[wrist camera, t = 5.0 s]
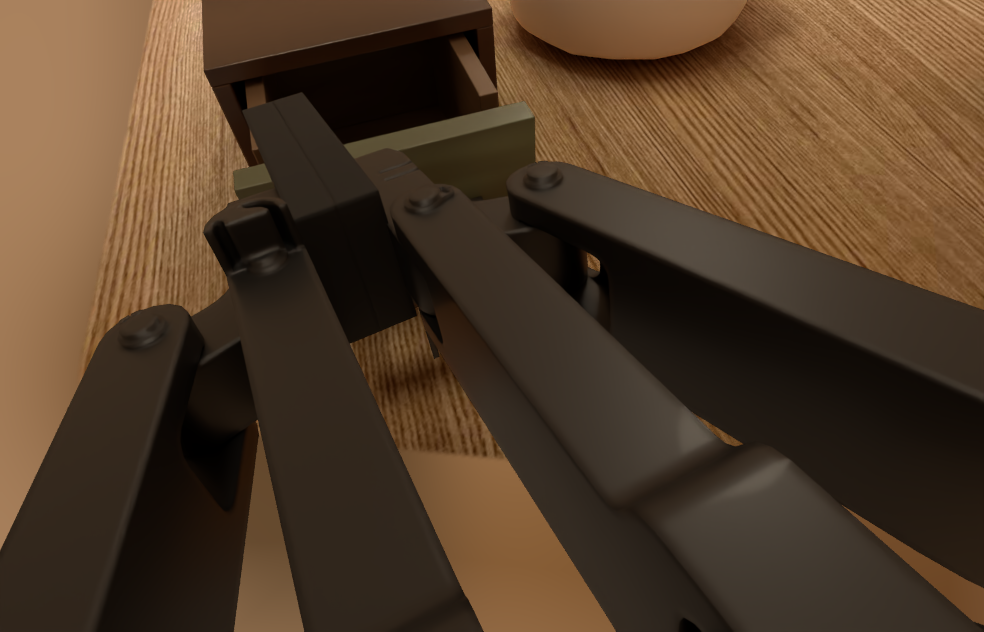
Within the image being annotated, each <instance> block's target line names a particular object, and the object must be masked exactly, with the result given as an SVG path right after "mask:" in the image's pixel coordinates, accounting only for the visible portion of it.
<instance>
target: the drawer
mask: <svg viewBox="0 0 984 632" xmlns="http://www.w3.org/2000/svg"><path fill="white" fill-rule="evenodd" d="M245 89H246V99H247V108H252V107H255V106H258V105H262V104H265V103H268V102H271V101H275V100H278V99H281V98H285V97H288V96H291V95H294V94H298V93H301V92H302V93H303V94H304V95H305V96H306V98H307V99H308V100H309V102H310V103H311V104H312V105H313V107H314V108H315V109H316V111H317V112H318V113H319V114H320V116H321V117H322V118H323V120H324V121H325V122H326V123H327V125H328V126H329V127H330V129H331V130H332V131H333V132H334V134H335V135H336V136H337V138H338V139H339V140H340V141H341V143H342V144H343V145H344V146H345V148H346V149H347V150H348V152H349V153H350V154H351V155H352V157H353V158H354V159H355V158H358V157H361V156H364V155H366V154H369V153H372V152H375V151H378V150H381V149H384V148H390V149H393V150H397V151H400V152H403V153H404V154H405V155H406V156H407V157H408V158H409V159H410V160H411V161H412V162H413V163H414V164H415V165H416V166H417V167H418V169H420V170H421V171H422V172H423V173H424V174H425V175H426V176H427V177H428V178H429V179H430V180H431V181H432V182H433V183H434V184H446V185H452V186H454V187H456V188H458V189H460V190H461V191H462V192H463V193H464V194H465V195H466V196H467V197H468V198H469V199H470V200H471V201H482V200H489V199H494V198H499V197H505V196H508V193H507V187H506V181H507V179H508V178H509V176H510V175H511V174H512V173H514V172H515V171H517V170H518V169H520V168H523V167H525V166H528V164H531V163H535V117H534V115H533V113H532V112H531V110H530V109H529V107H528V105H527V104H526V102H525V101H522V102H518V103H514V104H510V105H505V106H501V107H499V102H498V92H497V90H496V88H495V86H494V85H493V83H492V81H491V80H490V78H489V76H488V75H487V73H486V71H485V69H484V68H483V66H482V64H481V63H480V61H479V59H478V58H477V56H476V54H475V52H474V51H473V49H472V47H471V46H470V44H469V42H468V41H467V39H466V37H465V35H464V34H463V32H459V33H455V34H450V35H446V36H441V37H436V38H432V39H427V40H423V41H418V42H414V43H409V44H405V45H400V46H396V47H391V48H387V49H382V50H378V51H373V52H369V53H364V54H360V55H355V56H351V57H346V58H342V59H337V60H333V61H328V62H324V63H319V64H315V65H310V66H306V67H301V68H296V69H292V70H287V71H283V72H278V73H274V74H269V75H265V76H260V77H256V78H251V79H247V80H245ZM250 136H251V146H252V152H253V154H254V156H255V158H256V160H257V163H258V165H256V166H252V167H248V168H244V169H240V170H236V171H233V176H234V190H235V193H236V195H237V197H238V199H239V200H240V199H243V198H246V197H248V196H251V195H254V194H257V193H260V192H263V191H266V190H269V189H272V188H275V187H274V185H273V182H272V180H271V178H270V175H269V173H268V171H267V168H266V166H265V164H264V161H263V159H262V157H261V154H260V152H259V150H258V147H257V145H256V143H255V140H254V138H253V136H252V133H251V131H250ZM412 301H413V304H414V307H418V306H417V304H416V303H415V301H414V300H413V298H412Z"/></svg>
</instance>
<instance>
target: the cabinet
mask: <svg viewBox="0 0 984 632" xmlns="http://www.w3.org/2000/svg"><path fill="white" fill-rule="evenodd" d="M202 24H203V61H204V73H205V75H206V77H207V79H208V81H209V83H210V85H211V87H212V89H213V91H214V93H215V96H216V98H217V100H218V102H219V104H220V106H221V108H222V110H223V112H224V115H225V117H226V119H227V121H228V123H229V125H230V127H231V129H232V132H233V134H234V136H235V138H236V140H237V142H238V144H239V146H240V149H241V151H242V153H243V155H244V157H245V159H246V161H247V163H248V165H249V167H252V166H256V165H258V163H257V160H256V158H255V156H254V154H253V152H252V146H251V136H250V128H249V126H248V124H247V121H246V119H245V117H244V114H243V112H242V110H245V109H248V108H247V99H246V89H245V80H247V79H251V78H256V77H260V76H265V75H269V74H274V73H278V72H283V71H287V70H292V69H296V68H301V67H306V66H310V65H315V64H319V63H324V62H328V61H333V60H337V59H342V58H346V57H351V56H355V55H360V54H364V53H369V52H373V51H378V50H382V49H387V48H391V47H396V46H400V45H405V44H409V43H414V42H418V41H423V40H427V39H432V38H436V37H441V36H446V35H450V34H455V33H459V32H463V34H464V35H465V37H466V39H467V41H468V42H469V44H470V46H471V47H472V49H473V51H474V52H475V54H476V56H477V58H478V59H479V61H480V63H481V64H482V66H483V68H484V69H485V71H486V73H487V75H488V76H489V78H490V80H491V81H492V83H493V85H494V86H495V88H496V90H497V78H496V63H495V47H494V32H493V17H492V7H491V6H490V5H489V3H488V2H487V0H202Z"/></svg>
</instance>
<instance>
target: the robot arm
mask: <svg viewBox="0 0 984 632" xmlns="http://www.w3.org/2000/svg"><path fill="white" fill-rule="evenodd" d="M242 112H243V114H244V117H245V119H246V121H247V124H248V126H249V128H250V131H251V133H252V136H253V138H254V140H255V143H256V145H257V147H258V150H259V152H260V154H261V157H262V159H263V161H264V164H265V166H266V168H267V171H268V173H269V175H270V178H271V180H272V182H273V185H274V187H275V188H272V189H269V190H266V191H263V192H260V193H257V194H254V195H251V196H248V197H246V198H243V199H240V200H237V201H234V202H231V203H228V205H227V207H226V208H225V209H224V210H222V211H221V212H219V213H218V214H216V215H214V216H213V217H212V218H211V219H210V220H209V221H208V222H207V224H206V225H205V228H204V232H203V233H204V235H205V237H206V239H207V241H208V243H209V245H210V246H211V248H212V250H213V252H214V254H215V256H216V258H217V259H218V261H219V263H220V265H221V267H222V269H223V271H224V272H225V274H226V276H227V281H228V286H229V289H228V290H227V292H226V293H225V294H224V295H223V296H222V297H221V298H219V299H218V300H217V301H216V302H214V303H213V304H211V305H210V306H208V307H207V308H205V309H204V310H202V311H200V312H198V313H197V314H195V315H193V316H192V317H191V316H190V315H189V313H188V312H187V311H186V310H185V309H184V308H183V307H182V306H178V305H172V304H166V305H159V306H153V307H150V308H147V309H144V310H139V311H136V312H134V313H132V314H131V316H129V315H128V316H126V317H125V318H123V319H122V320H120V321H119V323H118V324H116V325H115V326H114V327H113V328H111V329H110V330H109V331H108V332H107V333H106V334H105V336H104V337H103V338H102V340H101V341H100V342H99V344H98V346H97V348H96V350H95V352H94V354H93V357H92V359H91V361H90V363H89V365H88V367H87V369H86V371H85V373H84V376H83V378H82V380H81V382H80V384H79V386H78V388H77V390H76V392H75V394H74V397H73V399H72V401H71V403H70V405H69V407H68V409H67V412H66V414H65V416H64V418H63V420H62V422H61V424H60V426H59V428H58V430H57V432H56V435H55V437H54V439H53V441H52V443H51V445H50V447H49V449H48V451H47V454H46V455H45V458H44V460H43V462H42V464H41V466H40V468H39V470H38V472H37V474H36V477H35V479H34V481H33V483H32V485H31V487H30V489H29V491H28V493H27V495H26V498H25V500H24V502H23V504H22V506H21V508H20V510H19V513H18V514H17V517H16V519H15V521H14V523H13V525H12V527H11V529H10V532H9V533H8V535H7V538H6V540H5V542H4V544H3V546H2V548H1V550H0V632H234V625H235V617H236V609H237V601H238V594H239V586H240V578H241V570H242V562H243V554H244V546H245V538H246V531H247V523H248V515H249V507H250V499H251V492H252V484H253V476H254V468H255V459H256V452H257V444H258V437H259V433H258V426H257V424H256V422H255V421H256V420H258V422H259V427H260V431H261V436H262V441H263V445H264V450H265V454H266V459H267V463H268V467H269V472H270V477H271V481H272V485H273V490H274V495H275V500H276V504H277V508H278V513H279V517H280V523H281V527H282V532H283V536H284V541H285V545H286V550H287V554H288V559H289V563H290V568H291V572H292V577H293V582H294V586H295V591H296V595H297V600H298V604H299V609H300V614H301V618H302V623H303V627H304V632H484V631H483V630H482V627H481V625H480V623H479V621H478V619H477V617H476V614H475V612H474V610H473V608H472V606H471V604H470V602H469V600H468V599H467V597H466V596H465V594H464V592H463V590H462V588H461V586H460V584H459V582H458V580H457V578H456V575H455V573H454V571H453V569H452V567H451V565H450V562H449V560H448V558H447V556H446V554H445V551H444V549H443V547H442V545H441V543H440V540H439V538H438V536H437V534H436V532H435V530H434V527H433V525H432V523H431V521H430V519H429V517H428V514H427V512H426V510H425V508H424V505H423V503H422V501H421V499H420V497H419V495H418V493H417V490H416V488H415V486H414V484H413V482H412V479H411V477H410V475H409V473H408V471H407V468H406V466H405V464H404V462H403V460H402V457H401V455H400V453H399V451H398V449H397V446H396V444H395V442H394V440H393V438H392V436H391V433H390V431H389V429H388V427H387V425H386V422H385V420H384V418H383V416H382V414H381V412H380V409H379V407H378V405H377V403H376V401H375V398H374V396H373V394H372V392H371V390H370V388H369V385H368V383H367V381H366V379H365V377H364V374H363V372H362V370H361V368H360V366H359V363H358V361H357V359H356V357H355V355H354V353H353V350H352V348H351V346H350V343H352V342H355V341H357V340H360V339H362V338H365V337H367V336H369V335H372V334H374V333H377V332H379V331H381V330H384V329H386V328H389V327H391V326H393V325H396V324H398V323H401V322H403V321H405V320H408V319H410V318H413V317H415V316H417V314H416V310H415V307H414V304H413V301H412V298H413V300H414V301H415V303H416V304H417V306H418V307H419V310H420V314H421V317H422V320H423V323H424V327H425V330H426V333H427V337H428V340H429V343H430V347H431V350H432V353H433V356H434V359H435V358H437V357H440V356H439V352H440V353H441V355H442V356H443V358H444V360H445V361H446V363H447V364H448V366H449V368H450V369H451V371H452V372H453V374H454V375H455V377H456V379H457V380H458V382H459V383H460V385H461V386H462V388H463V390H464V391H465V393H466V394H467V396H468V398H469V399H470V401H471V402H472V404H473V405H474V407H475V409H476V410H477V412H478V413H479V415H480V417H481V418H482V420H483V421H484V423H485V424H486V426H487V428H488V429H489V431H490V432H491V434H492V435H493V437H494V439H495V440H496V442H497V443H498V445H499V447H500V448H501V450H502V451H503V453H504V454H505V456H506V458H507V459H508V461H509V462H510V464H511V465H512V467H513V469H514V470H515V471H516V473H517V475H518V477H519V478H520V480H521V481H522V483H523V484H524V486H525V488H526V489H527V491H528V492H529V494H530V495H531V497H532V499H533V500H534V502H535V503H536V505H537V506H538V508H539V510H540V511H541V513H542V514H543V516H544V518H545V519H546V521H547V522H548V524H549V525H550V527H551V529H552V530H553V532H554V533H555V535H556V536H557V538H558V540H559V541H560V543H561V544H562V546H563V548H564V549H565V551H566V552H567V554H568V556H569V557H570V559H571V560H572V562H573V563H574V565H575V566H576V568H577V570H578V571H579V573H580V574H581V576H582V577H583V579H584V581H585V582H586V584H587V586H588V587H589V589H590V590H591V592H592V593H593V595H594V596H595V598H596V600H597V601H598V603H599V604H600V606H601V608H602V609H603V611H604V612H605V614H606V616H607V617H608V619H609V620H610V622H611V623H612V625H613V627H614V629H615V630H616V632H984V625H981V624H979V623H976V622H973V621H972V620H971V619H969V618H968V617H967V616H966V615H965V614H964V613H962V612H961V611H960V610H959V609H958V608H957V607H956V606H955V605H954V604H952V603H951V602H950V601H949V600H948V599H947V598H946V597H945V596H944V595H942V594H941V593H940V592H939V591H938V590H937V589H936V588H934V587H933V586H932V585H931V584H930V583H929V582H928V581H927V580H925V579H924V578H923V577H922V576H921V575H920V574H919V573H918V572H916V571H915V570H914V569H913V568H912V567H911V566H910V565H909V564H907V563H906V562H905V561H904V560H903V559H902V558H900V557H899V556H898V555H897V554H896V553H895V552H894V551H893V550H892V549H890V548H889V547H888V546H887V545H886V544H885V543H884V542H883V541H881V540H880V539H879V538H878V537H877V536H876V535H875V534H874V533H872V532H871V531H870V530H869V529H868V528H867V527H866V526H865V525H863V524H862V523H861V522H860V521H859V520H858V519H857V518H856V517H854V516H853V515H852V514H851V513H850V512H849V511H848V510H847V509H845V508H844V507H843V506H845V507H846V508H848V509H850V510H851V511H853V512H854V513H856V514H858V515H859V516H861V517H862V518H864V519H866V520H867V521H869V522H870V523H872V524H874V525H875V526H877V527H878V528H880V529H882V530H883V531H885V532H887V533H888V534H890V535H892V536H893V537H895V538H896V539H898V540H899V541H901V542H903V543H904V544H906V545H908V546H909V547H911V548H913V549H914V550H916V551H917V552H919V553H921V554H923V555H924V556H926V557H928V558H930V559H931V560H933V561H935V562H937V563H938V564H940V565H942V566H943V567H945V568H947V569H949V570H950V571H952V572H954V573H956V574H958V575H959V576H961V577H963V578H965V579H966V580H968V581H971V582H973V583H974V584H977V585H979V586H981V587H983V588H984V310H982V309H979V308H976V307H973V306H971V305H968V304H965V303H962V302H959V301H956V300H954V299H951V298H948V297H945V296H942V295H939V294H937V293H934V292H931V291H928V290H925V289H923V288H920V287H917V286H914V285H911V284H908V283H906V282H903V281H900V280H897V279H894V278H891V277H889V276H886V275H883V274H880V273H877V272H874V271H872V270H869V269H866V268H863V267H860V266H857V265H855V264H852V263H849V262H846V261H843V260H840V259H838V258H835V257H832V256H829V255H826V254H823V253H821V252H818V251H815V250H812V249H809V248H806V247H804V246H801V245H798V244H795V243H792V242H789V241H787V240H784V239H781V238H778V237H775V236H773V235H770V234H767V233H764V232H761V231H758V230H756V229H753V228H750V227H747V226H744V225H741V224H739V223H736V222H733V221H730V220H727V219H724V218H722V217H719V216H716V215H713V214H710V213H707V212H705V211H702V210H699V209H696V208H693V207H690V206H688V205H685V204H682V203H679V202H676V201H673V200H671V199H668V198H665V197H662V196H659V195H656V194H654V193H651V192H648V191H645V190H642V189H639V188H637V187H634V186H631V185H628V184H625V183H623V182H620V181H617V180H614V179H611V178H608V177H606V176H603V175H600V174H597V173H594V172H591V171H589V170H586V169H583V168H580V167H577V166H574V165H572V164H568V163H563V162H548V161H539V162H538V163H536V162H535V163H531V164H528V166H525V167H523V168H520V169H518V170H517V171H515V172H514V173H512V174H511V175H510V176H509V178H508V179H507V181H506V187H507V193H508V196H505V197H499V198H494V199H489V200H482V201H471V200H470V199H469V198H468V197H467V196H466V195H465V194H464V193H463V192H462V191H461V190H460V189H458V188H456V187H454V186H452V185H446V184H434V183H433V182H432V181H431V180H430V179H429V178H428V177H427V176H426V175H425V174H424V173H423V172H422V171H421V170H420V169H418V167H417V166H416V165H415V164H414V163H413V162H412V161H411V160H410V159H409V158H408V157H407V156H406V155H405V154H404V153H403V152H400V151H397V150H393V149H390V148H384V149H381V150H378V151H375V152H372V153H369V154H366V155H364V156H361V157H358V158H355V159H354V158H353V157H352V155H351V154H350V153H349V152H348V150H347V149H346V148H345V146H344V145H343V144H342V143H341V141H340V140H339V139H338V138H337V136H336V135H335V134H334V132H333V131H332V130H331V129H330V127H329V126H328V125H327V123H326V122H325V121H324V120H323V118H322V117H321V116H320V114H319V113H318V112H317V111H316V109H315V108H314V107H313V105H312V104H311V103H310V102H309V100H308V99H307V98H306V96H305V95H304V94H303V93H302V92H301V93H298V94H294V95H291V96H288V97H285V98H281V99H278V100H275V101H271V102H268V103H265V104H262V105H258V106H255V107H252V108H248V109H245V110H242ZM587 252H588V253H590V254H592V255H593V256H594V257H596V258H597V259H598V260H599V261H600V272H598V271H595V270H593V269H591V268H589V267H588V261H587ZM438 350H439V352H438ZM692 412H693V413H694V414H696V415H698V416H699V417H701V418H703V419H704V420H706V421H707V422H709V423H711V424H712V425H714V426H715V427H717V428H719V429H720V430H722V431H724V432H725V433H727V434H728V435H730V436H732V437H733V438H735V439H736V440H738V441H740V442H741V443H743V445H739V446H736V447H735V446H732V445H729V444H726V443H725V442H724V441H722V440H721V439H720V438H718V437H717V436H716V435H715V434H714V433H713V432H712V431H711V430H710V429H708V428H707V427H706V426H705V425H704V424H703V423H702V422H701V421H700V420H699V419H698V418H697V417H696V416H695V415H694V414H693V413H692ZM842 505H843V506H842Z"/></svg>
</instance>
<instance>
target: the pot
mask: <svg viewBox="0 0 984 632" xmlns="http://www.w3.org/2000/svg"><path fill="white" fill-rule="evenodd" d="M747 1H748V0H510V4H511V8H512V12H513V16H514V17H515V19H516V20H517V21H518V22H519V24H520V25H521V26H522V27H523V28H524V29H525V30H527V31H528V32H529V33H531V34H533V35H534V36H536V37H538V38H540V39H541V40H543V41H545V42H547V43H549V44H551V45H553V46H555V47H557V48H559V49H562V50H564V51H566V52H568V53H570V54H574V55H582V56H590V57H598V58H606V59H658V58H663V57H668V56H673V55H677V54H682V53H685V52H688V51H690V50H692V49H695V48H697V47H699V46H702V45H704V44H706V43H708V42H711V41H713V40H715V39H716V38H718V37H720V36H721V35H722V34H723V33H724V32H725V31H726V30H727V29H728V28H729V27H730V26H731V25H732V24H733V23H734V22H735V21H736V19H737V18H738V16H739V14H740V13H741V11H742V9H743V8H744V6H745V4H746V3H747Z"/></svg>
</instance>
